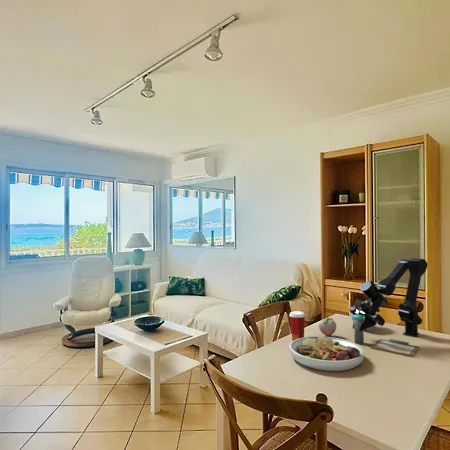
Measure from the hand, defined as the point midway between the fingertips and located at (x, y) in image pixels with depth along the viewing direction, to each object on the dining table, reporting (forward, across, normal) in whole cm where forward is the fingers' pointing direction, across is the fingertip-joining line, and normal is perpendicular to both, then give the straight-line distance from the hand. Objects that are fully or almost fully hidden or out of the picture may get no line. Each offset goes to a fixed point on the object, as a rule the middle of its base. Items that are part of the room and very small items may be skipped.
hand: (356, 329), depth 157 cm
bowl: (+23, +10, -13) cm, 28 cm away
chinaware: (-10, -18, +20) cm, 29 cm away
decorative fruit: (+9, -14, 0) cm, 17 cm away
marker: (+4, 0, +6) cm, 7 cm away
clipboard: (-3, +12, +13) cm, 18 cm away
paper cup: (+22, -13, -12) cm, 28 cm away
